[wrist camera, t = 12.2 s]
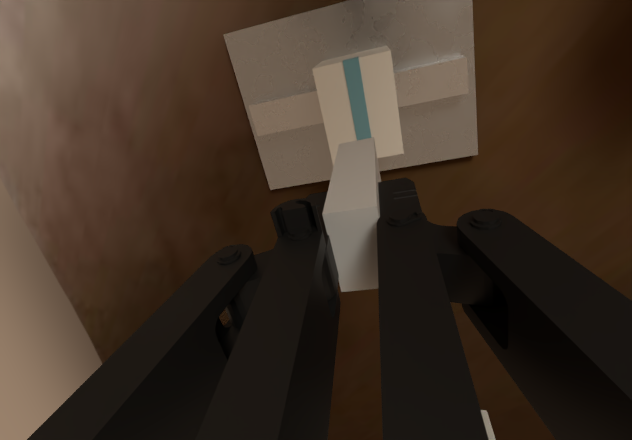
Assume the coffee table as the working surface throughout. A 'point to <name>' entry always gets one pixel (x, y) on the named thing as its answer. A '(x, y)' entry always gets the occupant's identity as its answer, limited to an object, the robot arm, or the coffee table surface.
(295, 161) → the grey flat board
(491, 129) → the coffee table surface
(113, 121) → the coffee table surface
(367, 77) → the block
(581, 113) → the coffee table surface
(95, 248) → the coffee table surface
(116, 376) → the robot arm
